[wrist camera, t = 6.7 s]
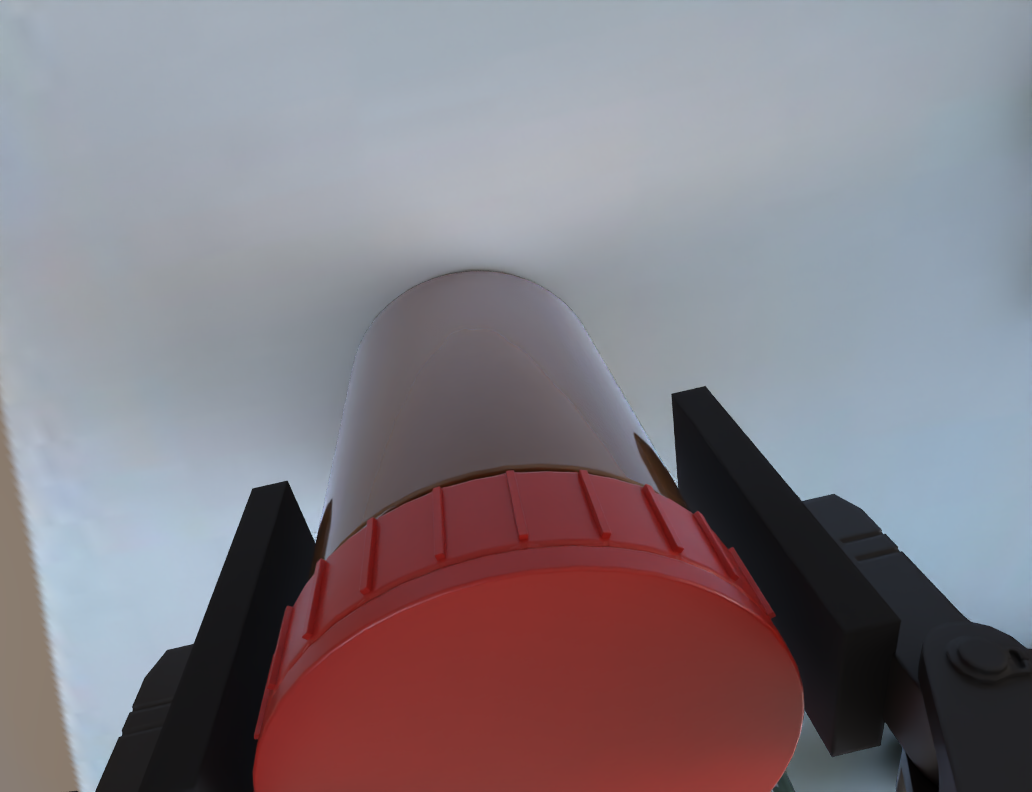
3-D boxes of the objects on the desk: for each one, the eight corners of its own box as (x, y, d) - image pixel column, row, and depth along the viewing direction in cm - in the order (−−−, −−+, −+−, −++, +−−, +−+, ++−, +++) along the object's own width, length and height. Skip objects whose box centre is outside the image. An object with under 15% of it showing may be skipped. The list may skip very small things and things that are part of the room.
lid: (361, 836, 12) (351, 962, 10) (191, 537, 8) (135, 656, 7) (748, 743, 12) (799, 851, 11) (747, 411, 9) (824, 497, 7)
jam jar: (316, 302, 17) (187, 620, 7) (580, 244, 17) (774, 485, 8) (390, 510, 20) (365, 906, 11) (609, 460, 20) (767, 807, 11)
